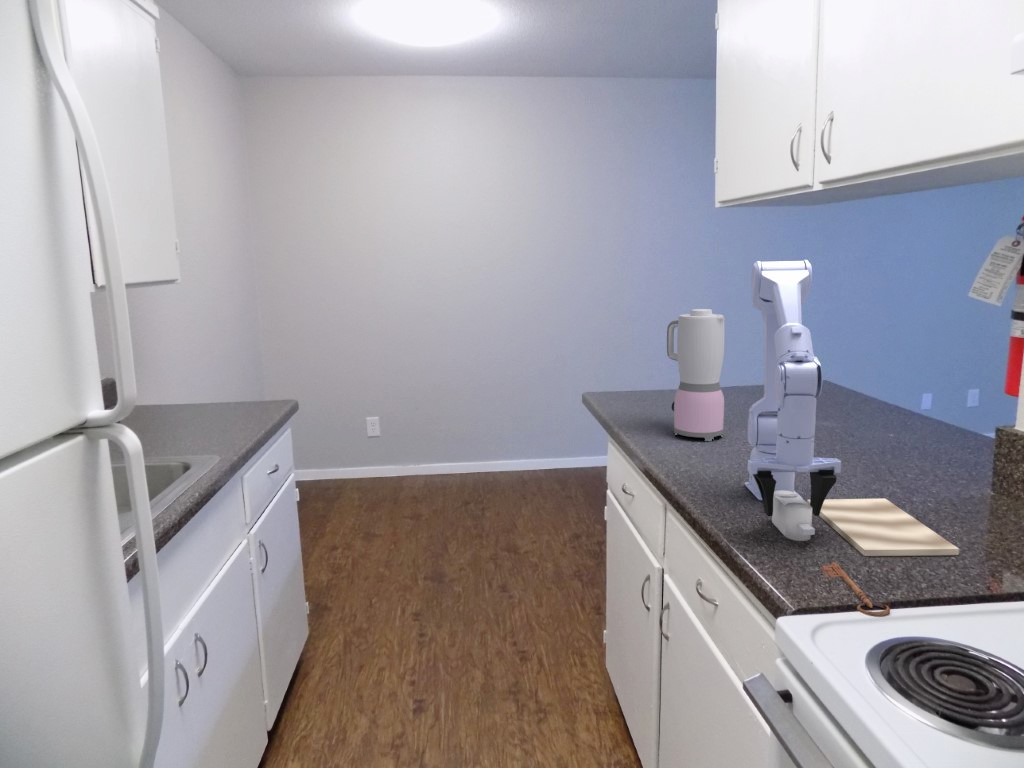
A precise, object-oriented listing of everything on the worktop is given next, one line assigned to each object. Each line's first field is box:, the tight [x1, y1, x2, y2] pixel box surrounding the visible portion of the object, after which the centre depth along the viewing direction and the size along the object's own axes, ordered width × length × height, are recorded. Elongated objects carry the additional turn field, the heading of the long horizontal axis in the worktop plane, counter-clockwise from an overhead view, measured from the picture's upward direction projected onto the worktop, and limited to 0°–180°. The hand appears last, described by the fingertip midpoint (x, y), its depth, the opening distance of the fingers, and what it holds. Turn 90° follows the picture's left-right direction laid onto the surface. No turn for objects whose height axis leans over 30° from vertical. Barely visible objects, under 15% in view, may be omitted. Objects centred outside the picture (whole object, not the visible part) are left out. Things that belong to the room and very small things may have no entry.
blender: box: [666, 308, 726, 440], centre depth 173 cm, size 16×12×32 cm
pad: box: [806, 497, 960, 557], centre depth 115 cm, size 22×14×1 cm, turn 178°
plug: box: [771, 490, 816, 542], centre depth 114 cm, size 12×4×5 cm, turn 178°
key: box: [819, 561, 891, 617], centre depth 95 cm, size 6×1×15 cm
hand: (791, 513), depth 115 cm, fingers open, 7 cm apart
